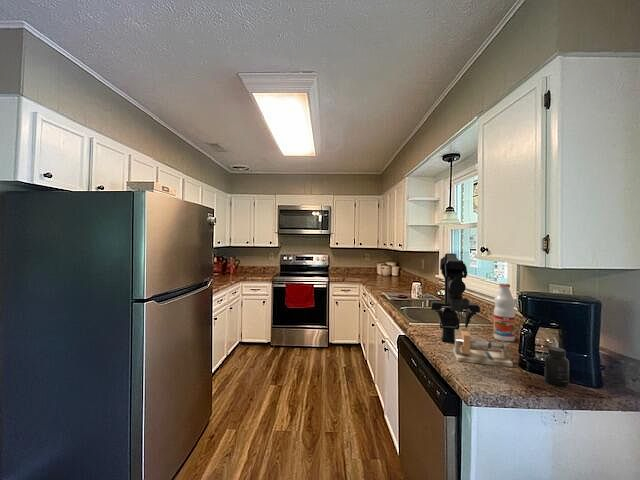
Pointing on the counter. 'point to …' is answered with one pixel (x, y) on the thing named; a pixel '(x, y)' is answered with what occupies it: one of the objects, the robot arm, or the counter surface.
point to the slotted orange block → (465, 342)
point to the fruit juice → (504, 314)
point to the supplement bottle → (556, 367)
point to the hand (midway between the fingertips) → (454, 326)
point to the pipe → (484, 344)
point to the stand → (483, 356)
